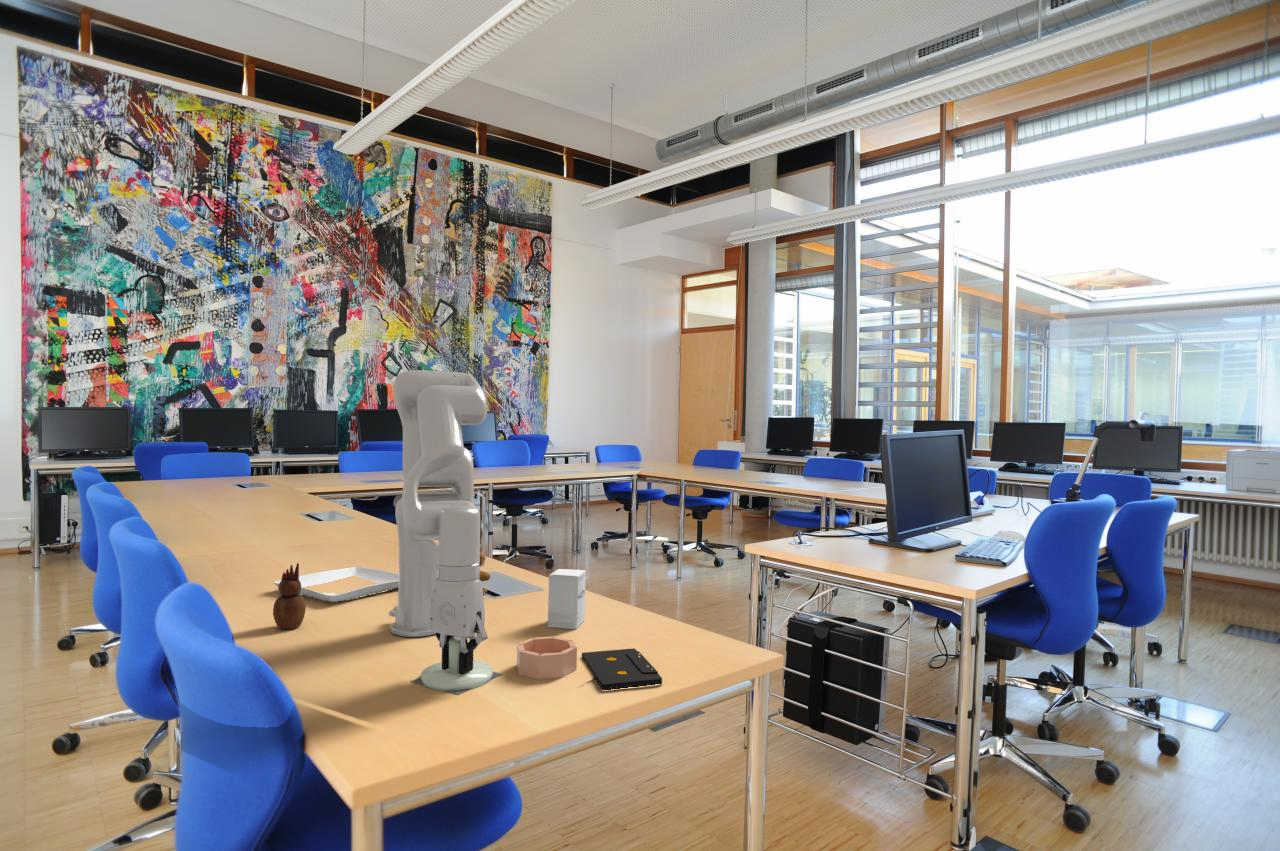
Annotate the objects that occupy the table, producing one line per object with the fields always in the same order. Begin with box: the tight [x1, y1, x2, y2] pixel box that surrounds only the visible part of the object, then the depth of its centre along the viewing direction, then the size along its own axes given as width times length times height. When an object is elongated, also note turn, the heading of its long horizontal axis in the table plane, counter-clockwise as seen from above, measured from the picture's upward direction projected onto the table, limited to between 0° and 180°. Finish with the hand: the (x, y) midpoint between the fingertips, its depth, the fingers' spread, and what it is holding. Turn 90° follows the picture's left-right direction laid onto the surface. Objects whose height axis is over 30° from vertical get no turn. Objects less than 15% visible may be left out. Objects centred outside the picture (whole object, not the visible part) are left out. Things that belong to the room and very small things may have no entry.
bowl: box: [516, 635, 578, 680], centre depth 139 cm, size 11×11×5 cm
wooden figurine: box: [272, 562, 307, 630], centre depth 164 cm, size 7×6×15 cm
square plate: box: [272, 566, 399, 603], centre depth 199 cm, size 27×27×4 cm
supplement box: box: [547, 568, 587, 630], centre depth 171 cm, size 7×7×13 cm
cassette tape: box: [581, 648, 663, 691], centre depth 140 cm, size 18×12×2 cm, turn 17°
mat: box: [409, 671, 504, 696], centre depth 133 cm, size 12×12×1 cm
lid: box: [420, 637, 494, 692], centre depth 133 cm, size 13×13×7 cm
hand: (457, 668), depth 133 cm, fingers open, 3 cm apart
